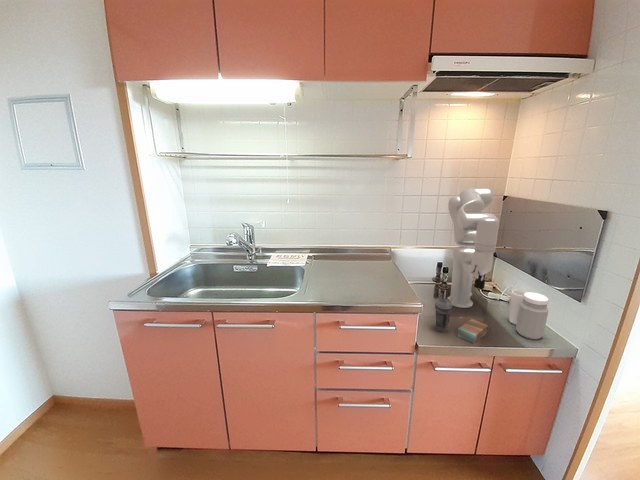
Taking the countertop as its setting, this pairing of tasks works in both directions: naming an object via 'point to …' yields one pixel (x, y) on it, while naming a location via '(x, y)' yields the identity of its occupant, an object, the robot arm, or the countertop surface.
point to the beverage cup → (443, 313)
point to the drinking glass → (515, 305)
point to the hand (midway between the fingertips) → (479, 287)
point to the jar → (532, 315)
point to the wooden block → (472, 330)
